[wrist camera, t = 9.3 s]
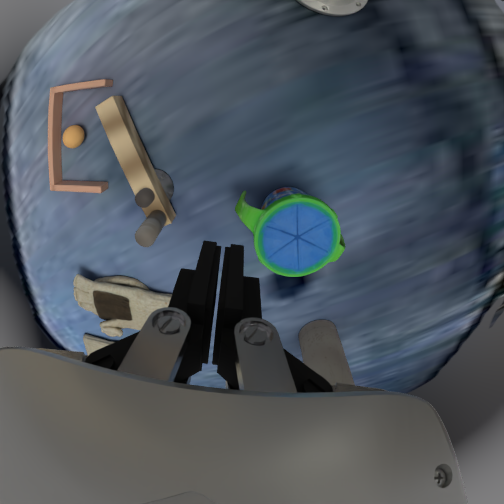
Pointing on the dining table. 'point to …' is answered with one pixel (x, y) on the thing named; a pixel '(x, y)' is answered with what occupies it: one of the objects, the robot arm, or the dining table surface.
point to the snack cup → (293, 231)
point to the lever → (136, 169)
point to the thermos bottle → (325, 352)
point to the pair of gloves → (116, 305)
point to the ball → (73, 136)
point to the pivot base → (165, 182)
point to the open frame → (55, 139)
